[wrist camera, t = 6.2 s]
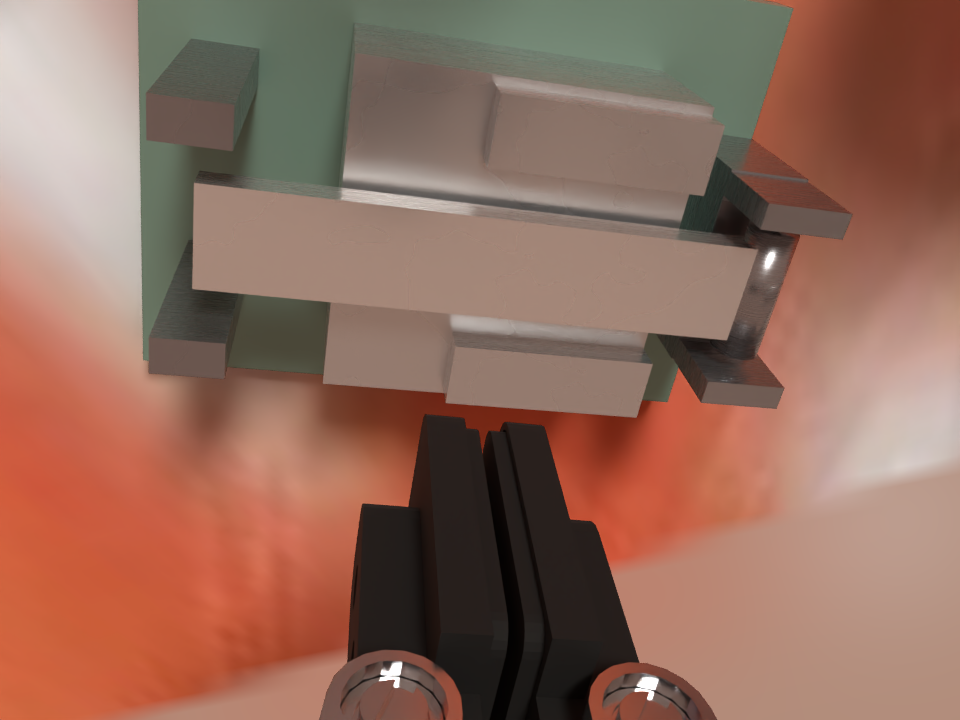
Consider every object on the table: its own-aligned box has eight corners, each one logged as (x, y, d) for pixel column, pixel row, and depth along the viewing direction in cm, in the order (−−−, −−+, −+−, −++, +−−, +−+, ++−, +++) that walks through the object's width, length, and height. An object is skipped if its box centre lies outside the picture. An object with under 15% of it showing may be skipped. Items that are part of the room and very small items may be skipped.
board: (777, 2, 24) (793, 8, 23) (658, 385, 29) (667, 402, 28) (145, -111, 20) (136, -109, 20) (150, 343, 26) (143, 360, 25)
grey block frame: (768, 87, 24) (878, 149, 19) (684, 348, 27) (757, 456, 22) (191, -4, 21) (143, 42, 16) (187, 301, 25) (147, 414, 20)
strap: (786, 222, 21) (809, 241, 20) (745, 338, 23) (763, 362, 22) (201, 149, 19) (192, 166, 18) (198, 286, 20) (190, 309, 19)
